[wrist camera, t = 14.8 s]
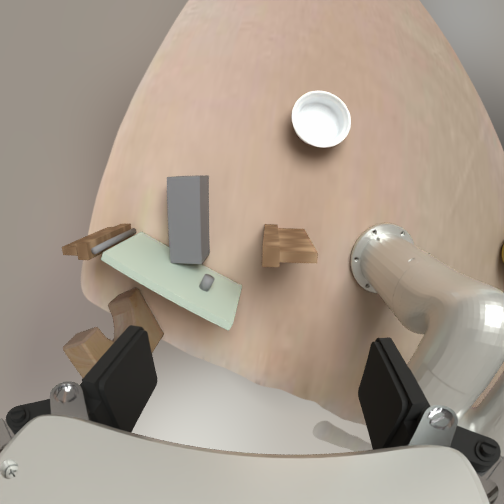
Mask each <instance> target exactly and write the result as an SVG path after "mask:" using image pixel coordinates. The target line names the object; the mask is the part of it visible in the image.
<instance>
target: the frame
mask: <svg viewBox="0 0 504 504" xmlns="http://www.w3.org/2000/svg"><path fill="white" fill-rule="evenodd" d="M130 229H131V224H120V225H117V226H115V227H107V228H105V229H103V230H100V231H98V232H95V233H93V234H91V235H88V236H86V237H84V238H82V239H79V240H77V241H74V242H72V243H70V244H68V245H65V246H63V247H62V251H63V255H76V256H78V259H79V260H90V259H92V258H94V257H95V256H97V255H99V254H101V253H103V252H104V251H106V250H108V249H110V248H112V247H113V246H115V245H117V244H119V243H121V242H123V241H125V240H127V239H128V238H130V237H132V235H131V236H129V237H127V238H125V239H123V240H121V241H119V242H117V243H115V244H113V245H112V246H110V247H108V248H106V249H104V250H102V251H100V252H99V253H97V254H92V252H91V249H92V248H93V247H95V246H97V245H99V244H101V243H103V242H105V241H107V240H109V239H111V238H113V237H115V236H117V235H119V234H122V233H124V232H126V231H128V230H130ZM317 258H318V253H317V251H316V249H315V247H314V245H313V244H312V242H311V240H310V238H309V237H308V235H307V233H306V231H305V230H304V229H285V228H278V226H277V225H271V224H265V229H264V238H263V249H262V267H279V264H280V262H287V263H317Z"/></svg>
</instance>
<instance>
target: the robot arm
mask: <svg viewBox="0 0 504 504" xmlns="http://www.w3.org/2000/svg"><path fill="white" fill-rule="evenodd" d="M373 230H374V232H373V233H372V231H373ZM401 232H402V233H401ZM355 257H356V259H354V258H355ZM351 270H352V273H353V276H354V278H355V279H356V281H357V282H358V283H359V285H360V286H361V287H363V288H364V289H365V290H367V291H370V292H373V293H378V294H379V295H380V296H381V298H382V299H383V300H384V302H385V303H386V304H387V305H388V307H389V308H390V309H391V311H392V312H393V313H394V314H395V316H396V317H397V318H398V320H399V321H400V322H401V324H402V325H403V326H404V327H405V328H407V329H408V330H410V331H412V332H414V333H417V334H424V336H423V338H422V340H421V341H420V343H419V345H418V348H417V349H416V351H415V353H414V354H413V356H412V358H411V359H410V361H409V362H408V364H407V365H406V363H405V361H404V360H403V358H402V356H401V354H400V353H399V351H398V349H397V348H396V346H395V344H394V342H393V341H392V339H391V338H377V339H376V341H375V342H372V344H371V347H370V351H369V355H368V359H367V363H366V366H365V370H364V373H363V377H362V380H361V383H360V387H359V390H358V397H359V400H360V404H361V407H362V411H363V414H364V418H365V421H366V425H367V429H368V432H369V436H370V440H371V444H372V448H373V450H367V451H358V452H347V453H333V454H313V455H276V454H255V453H242V452H232V451H222V450H215V449H207V448H200V447H194V446H189V445H182V444H178V443H172V442H167V441H163V440H159V439H154V438H150V437H146V436H142V435H138V434H135V433H131V432H132V430H133V428H134V426H135V424H136V422H137V420H138V418H139V417H140V414H141V413H142V411H143V409H144V407H145V405H146V403H147V402H148V400H149V398H150V396H151V394H152V392H153V390H154V389H155V387H156V384H157V375H156V371H155V367H154V362H153V357H152V352H151V347H150V342H149V337H148V333H147V331H145V330H144V328H143V327H140V326H133V325H130V326H128V328H127V329H126V330H125V331H124V332H123V333H122V334H121V335H120V336H119V338H118V339H117V340H116V341H115V342H114V343H113V344H112V345H111V347H110V348H109V349H108V350H107V351H106V352H105V353H104V355H103V356H102V357H101V358H100V359H99V360H98V361H97V363H96V364H95V365H94V366H93V367H92V368H91V370H90V371H89V372H88V373H87V374H86V375H85V377H84V378H83V379H82V383H81V384H80V385H78V384H77V383H75V382H63V383H60V384H58V385H56V386H55V387H54V388H53V389H52V391H51V393H50V399H47V400H43V401H39V402H34V403H29V404H25V405H20V406H16V407H14V408H12V409H11V410H10V411H9V412H8V414H7V416H6V421H4V420H3V419H0V504H504V371H503V373H502V374H501V376H500V377H499V379H498V380H497V382H496V383H495V385H494V386H493V387H492V389H491V390H490V391H489V393H488V394H487V395H486V397H485V398H484V399H483V401H482V402H481V403H480V404H479V405H478V406H477V407H475V408H472V407H471V406H472V405H473V403H474V402H475V401H476V400H477V398H478V397H479V396H480V394H481V393H482V392H483V391H484V390H485V389H486V387H487V386H488V384H489V383H490V382H491V380H492V379H493V377H494V376H495V374H496V373H497V371H498V370H499V368H500V367H501V365H502V364H503V362H504V292H503V291H501V290H499V289H497V288H495V287H493V286H491V285H489V284H486V283H483V282H481V281H478V280H475V279H473V278H470V277H468V276H466V275H464V274H462V273H460V272H458V271H456V270H454V269H453V268H451V267H449V266H448V265H446V264H445V263H443V262H441V261H440V260H438V259H436V258H435V257H433V256H432V255H430V253H427V252H425V251H423V250H422V249H420V248H418V247H417V246H415V245H414V242H413V240H412V238H411V236H410V235H409V234H408V232H407V231H406V230H404V229H403V228H402V227H400V226H398V225H395V224H391V223H381V224H377V225H374V226H372V227H370V228H369V229H367V230H366V231H365V232H364V233H362V234H361V236H360V237H359V238H358V239H357V241H356V243H355V245H354V247H353V250H352V253H351ZM366 284H367V285H366Z"/></svg>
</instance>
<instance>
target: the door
mask: <svg viewBox="0 0 504 504" xmlns="http://www.w3.org/2000/svg"><path fill="white" fill-rule="evenodd" d="M135 233H136V229H135V228H132V229H130V230H128V231H126V232H124V233H122V234H119V235H117V236H115V237H113V238H111V239H109V240H107V241H105V242H103V243H101V244H99V245H97V246H95V247H93V248H92V249H91V252H92V254H97V253H99V252H100V251H102V250H104V249H106V248H108V247H110V246H112V245H113V244H115V243H117V242H119V241H121V240H123V239H125V238H127V237H129V236H131V235H133V234H135ZM101 260H102V261H104V262H105V263H107V264H108V265H110V266H112V267H113V268H115V269H117V270H118V271H120V272H122V273H123V274H125V275H127V276H128V277H130V278H132V279H133V280H135V281H137V282H138V283H140V284H142V285H144V286H145V287H147V288H149V289H151V290H152V291H154V292H156V293H158V294H159V295H161V296H163V297H165V298H167V299H168V300H170V301H172V302H174V303H176V304H178V305H179V306H181V307H183V308H185V309H187V310H189V311H191V312H193V313H195V314H197V315H198V316H200V317H202V318H204V319H206V320H208V321H210V322H212V323H214V324H216V325H218V326H220V327H222V328H224V329H226V330H228V331H229V330H230V328H231V326H232V325H233V321H234V317H235V313H236V309H237V305H238V301H239V297H240V293H241V289H242V285H240V284H238V283H236V282H234V281H232V280H230V279H228V278H226V277H225V276H223V275H221V274H219V273H217V272H215V271H213V270H211V269H209V268H207V267H205V266H204V265H202V264H188V263H171V261H170V247H168V246H166V245H165V244H163V243H161V242H159V241H157V240H155V239H154V238H152V237H150V236H148V235H146V234H145V233H143V232H140V233H138V234H136V235H134V236H132V237H131V238H129V239H127V240H125V241H123V242H121V243H119V244H117V245H116V246H114V247H112V248H110V249H108V250H106V251H105V252H103V254H102V258H101Z"/></svg>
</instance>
